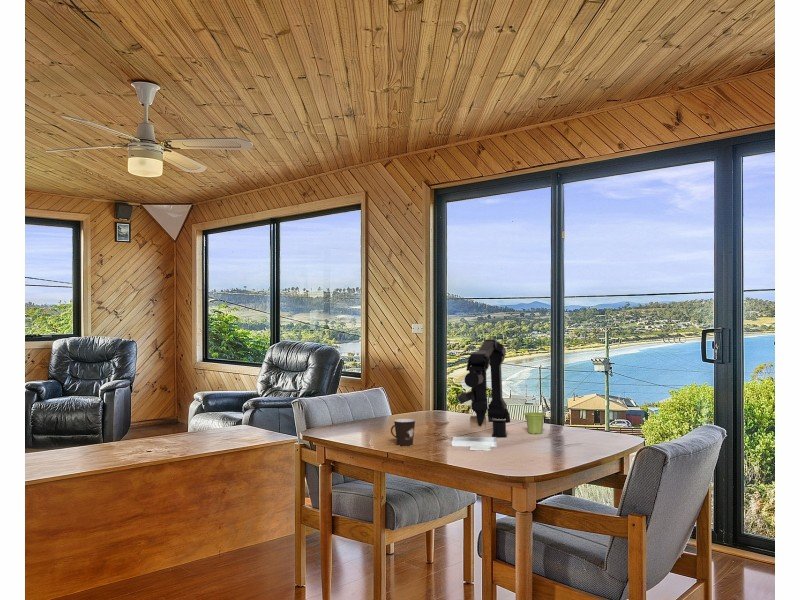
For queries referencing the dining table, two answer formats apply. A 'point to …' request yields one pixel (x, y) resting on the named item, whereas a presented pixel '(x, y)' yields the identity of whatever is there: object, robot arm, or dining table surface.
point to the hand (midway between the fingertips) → (480, 424)
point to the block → (475, 423)
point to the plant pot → (534, 422)
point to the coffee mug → (404, 431)
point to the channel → (474, 441)
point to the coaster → (480, 447)
